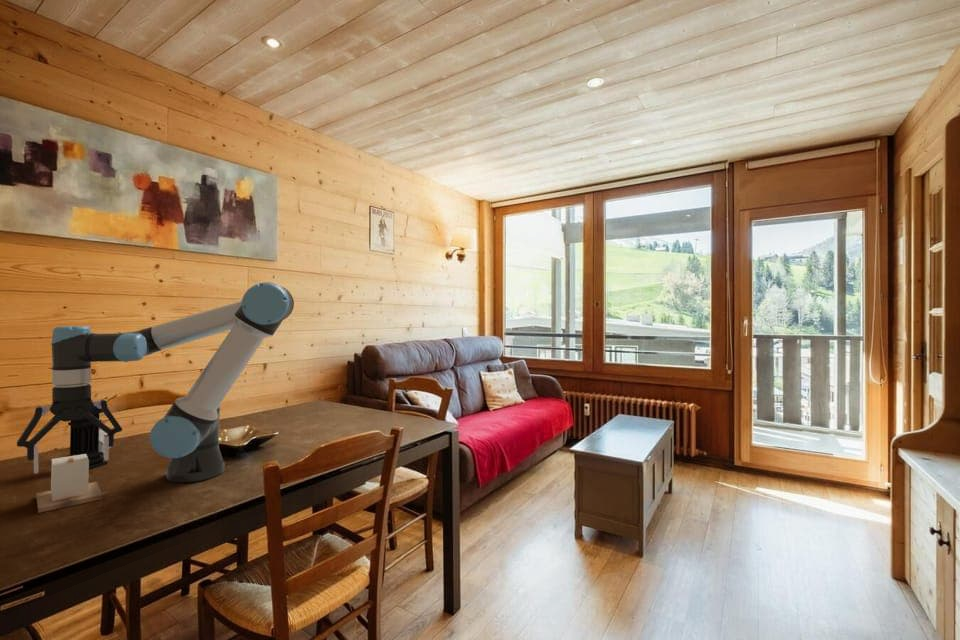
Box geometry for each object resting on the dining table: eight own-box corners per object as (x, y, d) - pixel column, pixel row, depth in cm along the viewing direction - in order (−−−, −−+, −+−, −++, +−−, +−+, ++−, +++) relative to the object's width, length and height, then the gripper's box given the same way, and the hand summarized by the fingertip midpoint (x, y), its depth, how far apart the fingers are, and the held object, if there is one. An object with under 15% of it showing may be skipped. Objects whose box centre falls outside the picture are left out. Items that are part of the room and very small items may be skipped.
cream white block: (85, 486, 122) (86, 451, 121) (88, 493, 117) (88, 458, 117) (50, 492, 117) (51, 457, 116) (52, 501, 112) (53, 463, 112)
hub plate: (96, 485, 125) (96, 480, 125) (102, 499, 117) (102, 493, 117) (36, 497, 116) (36, 492, 116) (38, 512, 108) (38, 507, 108)
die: (120, 453, 155) (111, 427, 157) (110, 447, 147) (102, 420, 150) (89, 465, 150) (81, 439, 153) (78, 460, 143) (70, 432, 146)
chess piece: (80, 472, 134) (81, 406, 134) (59, 469, 136) (61, 404, 136) (107, 464, 142) (108, 401, 142) (87, 461, 144) (88, 400, 143)
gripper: (129, 378, 128) (129, 451, 128) (2, 388, 110) (3, 473, 110) (134, 381, 123) (134, 457, 123) (1, 392, 104) (2, 482, 105)
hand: (72, 465), depth 116 cm, fingers open, 13 cm apart
